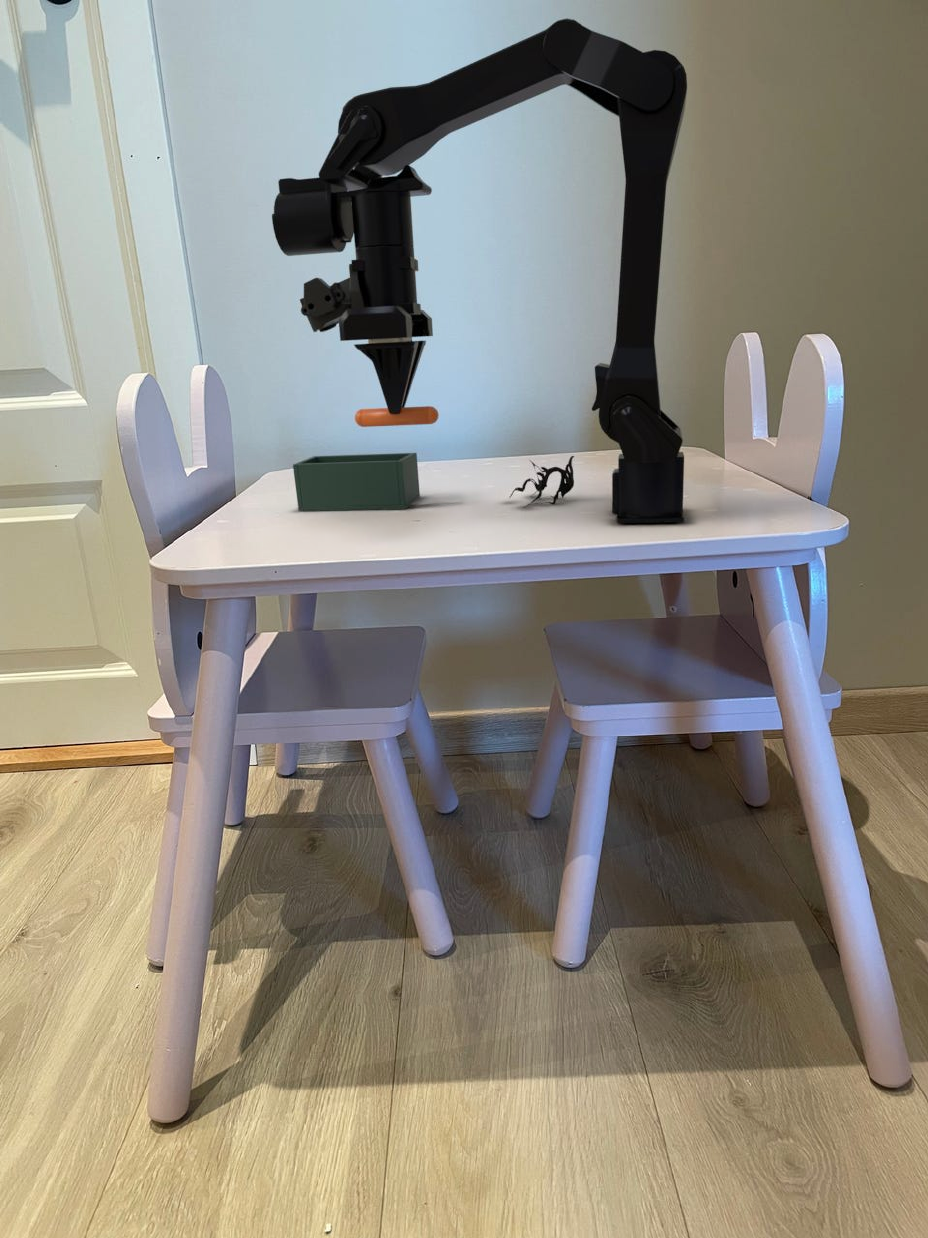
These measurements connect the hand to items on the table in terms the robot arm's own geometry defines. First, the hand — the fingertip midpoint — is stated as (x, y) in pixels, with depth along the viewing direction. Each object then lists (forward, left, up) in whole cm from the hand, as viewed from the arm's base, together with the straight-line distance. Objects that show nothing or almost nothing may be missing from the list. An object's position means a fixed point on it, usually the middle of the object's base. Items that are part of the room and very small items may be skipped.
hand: (396, 412), depth 86 cm
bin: (+8, -9, -11) cm, 17 cm away
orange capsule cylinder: (0, 0, -1) cm, 1 cm away
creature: (-14, -9, -12) cm, 20 cm away
